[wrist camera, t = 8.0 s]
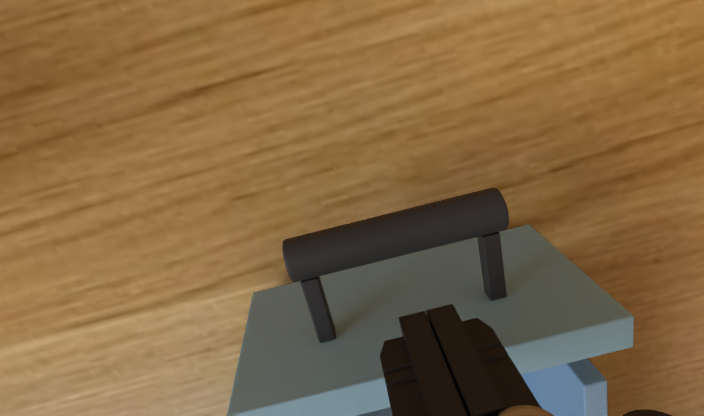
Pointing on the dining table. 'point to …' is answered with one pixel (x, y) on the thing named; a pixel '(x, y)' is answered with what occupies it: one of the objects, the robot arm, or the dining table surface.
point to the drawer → (420, 295)
